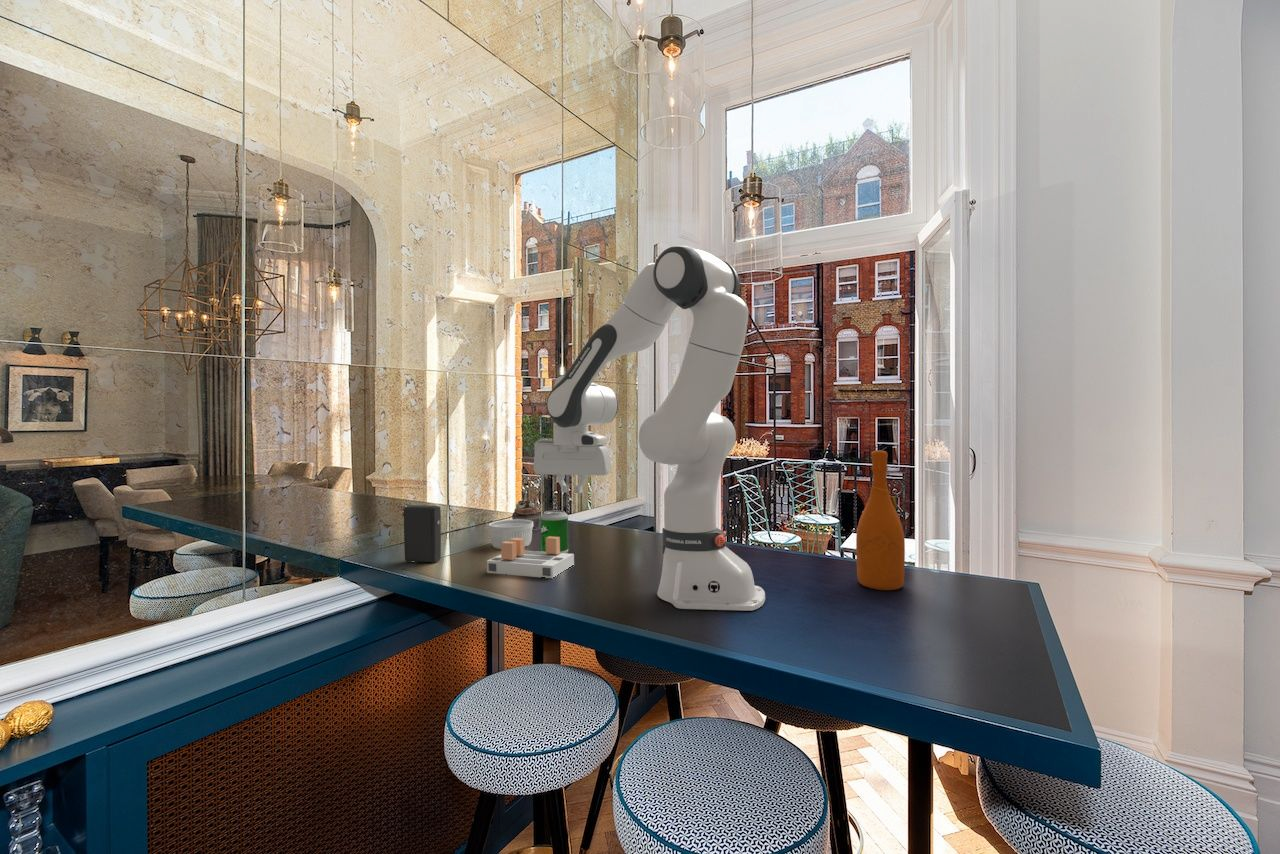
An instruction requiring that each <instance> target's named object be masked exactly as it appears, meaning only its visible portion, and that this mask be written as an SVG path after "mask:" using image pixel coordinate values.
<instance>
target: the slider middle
mask: <svg viewBox="0 0 1280 854" xmlns="http://www.w3.org/2000/svg"><path fill="white" fill-rule="evenodd" d="M510 541H511V542H516V556H522V555H524V554H525V551H526V550H525V548H526V547H524V538H512V539H510Z"/></svg>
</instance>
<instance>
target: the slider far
mask: <svg viewBox="0 0 1280 854" xmlns="http://www.w3.org/2000/svg"><path fill="white" fill-rule="evenodd" d="M558 553H560V537H552V536H549V537H547V538H546V554H558Z"/></svg>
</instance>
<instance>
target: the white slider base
mask: <svg viewBox="0 0 1280 854" xmlns="http://www.w3.org/2000/svg"><path fill="white" fill-rule="evenodd" d="M572 565H574V566H575V554H574V553H568V552H567V553H558V554H546V552H541V551H539V550H538V551H535V550H525V554H524V555H522V556H516V558H515V559H513V560H507V559H501V554H499V555H497V556H494V557H493V558H490V559H488V560H486V573H487V574H494V575H495V574H496V575H506V574H507V576H518V577H519V576H520V577H532V578H541V577H545V578H544V579H554V578H553V577H555V576H556V577H558V576H559V575H561V574H562V573H561V572H563V571H564V570H566V569H568V568H569V567H571V566H572ZM571 568H572V567H571ZM569 569H570V568H569ZM569 569H568V570H569ZM566 571H567V570H566ZM564 572H565V571H564ZM564 572H563V573H564ZM560 573H561V574H560ZM558 574H559V575H558ZM557 575H558V576H557ZM556 577H555V578H556Z"/></svg>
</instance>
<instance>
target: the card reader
mask: <svg viewBox="0 0 1280 854" xmlns="http://www.w3.org/2000/svg"><path fill="white" fill-rule="evenodd" d="M441 520H442V516H441V507H440V506H438V505H429V504H428V505H421V504H420V505H418V504H417V505H416V504H413V505H407V506H405V507H404V508H403V546H404V547H403V548H404V560H405V562H408V561H415V562H414V563H417V562H434V563H437V562H439V561H440V560H441V555H442V549H441V548H442V525H441V522H442V521H441Z"/></svg>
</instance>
